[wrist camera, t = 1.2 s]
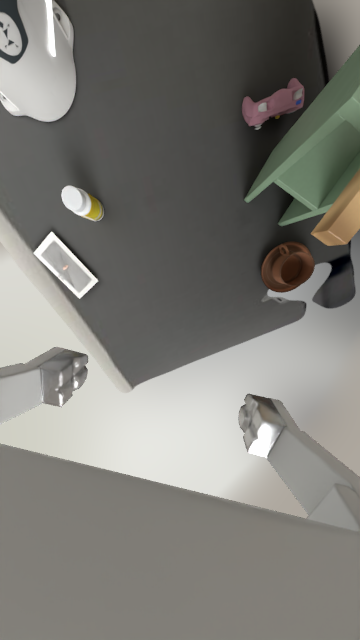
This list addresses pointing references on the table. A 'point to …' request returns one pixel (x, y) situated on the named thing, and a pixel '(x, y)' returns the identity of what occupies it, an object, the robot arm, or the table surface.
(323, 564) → the robot arm
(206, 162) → the table surface
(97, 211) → the supplement bottle
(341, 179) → the sage stand
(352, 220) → the desk brush
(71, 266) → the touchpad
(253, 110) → the video game controller
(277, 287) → the cup and saucer
